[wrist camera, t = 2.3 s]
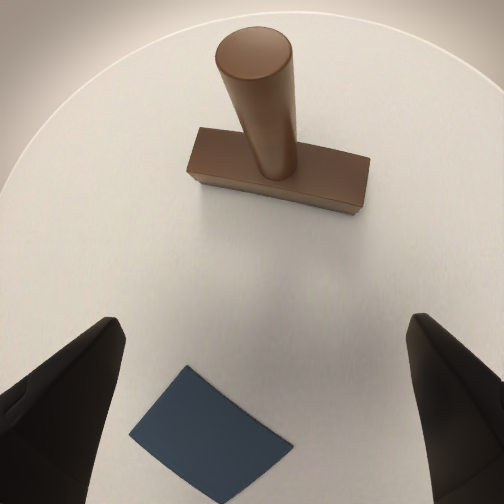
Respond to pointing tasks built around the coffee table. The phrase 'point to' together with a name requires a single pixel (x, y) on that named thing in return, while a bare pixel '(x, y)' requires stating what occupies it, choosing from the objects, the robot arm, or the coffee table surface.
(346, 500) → the coffee table surface
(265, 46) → the wiper
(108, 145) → the coffee table surface
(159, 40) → the coffee table surface
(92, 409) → the robot arm
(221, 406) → the drying mat
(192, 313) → the coffee table surface
